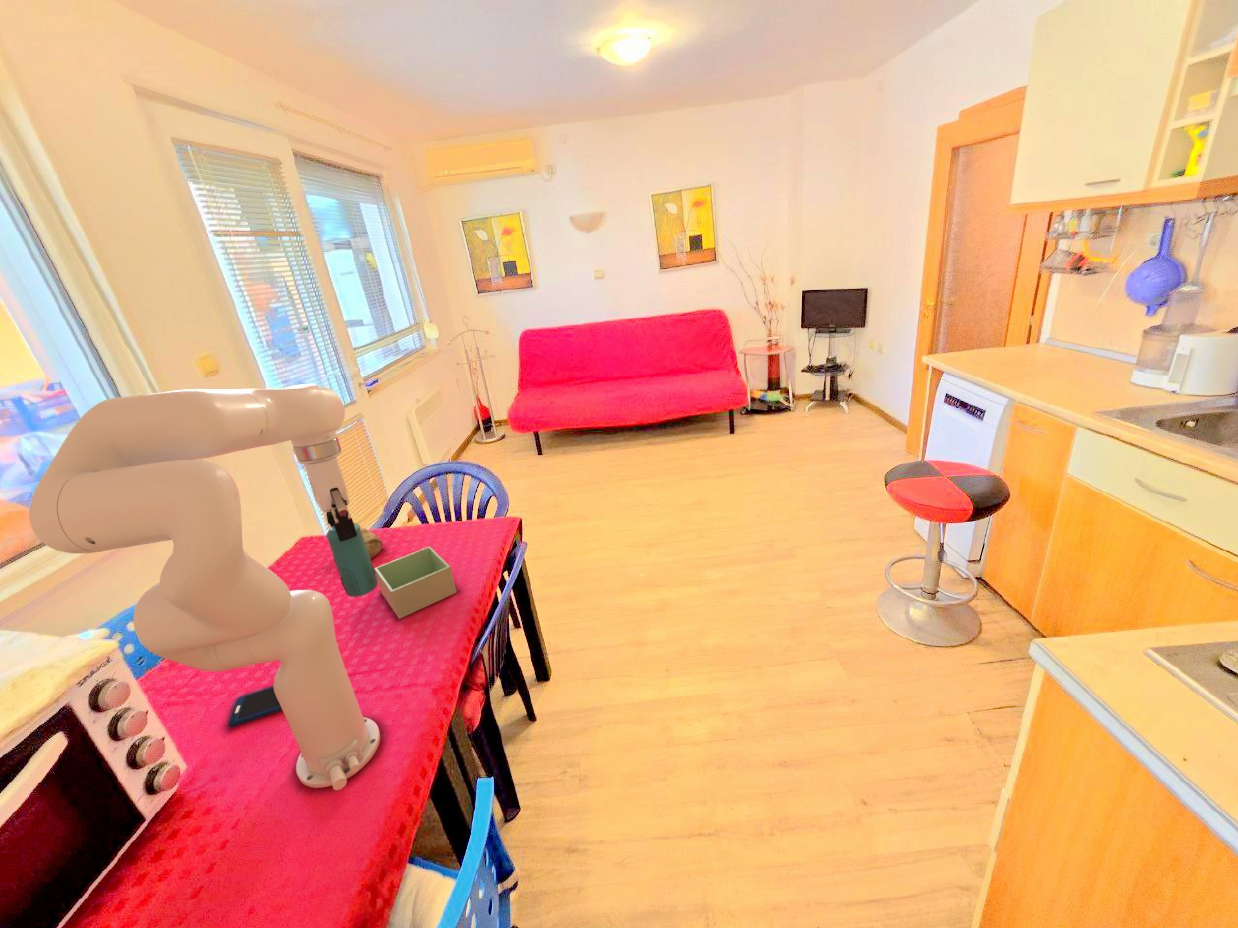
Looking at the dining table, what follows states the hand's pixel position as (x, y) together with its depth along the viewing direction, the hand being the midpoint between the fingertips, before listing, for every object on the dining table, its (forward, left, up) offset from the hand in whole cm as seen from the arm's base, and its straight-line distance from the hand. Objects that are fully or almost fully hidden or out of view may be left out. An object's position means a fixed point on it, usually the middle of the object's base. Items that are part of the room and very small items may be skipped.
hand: (344, 532), depth 102 cm
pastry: (+43, -7, -27) cm, 52 cm away
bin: (+10, -13, -27) cm, 31 cm away
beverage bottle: (0, 0, -15) cm, 15 cm away
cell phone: (-5, +20, -27) cm, 34 cm away
